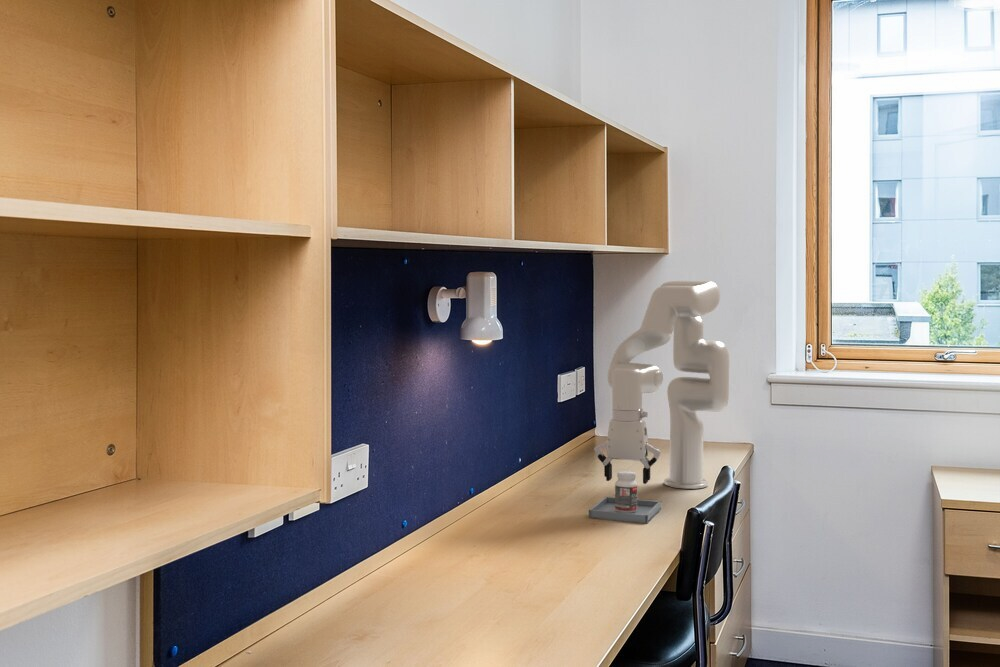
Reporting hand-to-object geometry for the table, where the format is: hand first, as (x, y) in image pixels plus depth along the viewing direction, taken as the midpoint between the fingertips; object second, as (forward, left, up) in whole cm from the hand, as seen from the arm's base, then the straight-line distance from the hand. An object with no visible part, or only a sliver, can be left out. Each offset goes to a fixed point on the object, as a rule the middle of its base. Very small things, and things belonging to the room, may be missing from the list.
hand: (627, 481), depth 250 cm
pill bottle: (+1, 0, -8) cm, 8 cm away
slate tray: (+1, 0, -8) cm, 8 cm away
